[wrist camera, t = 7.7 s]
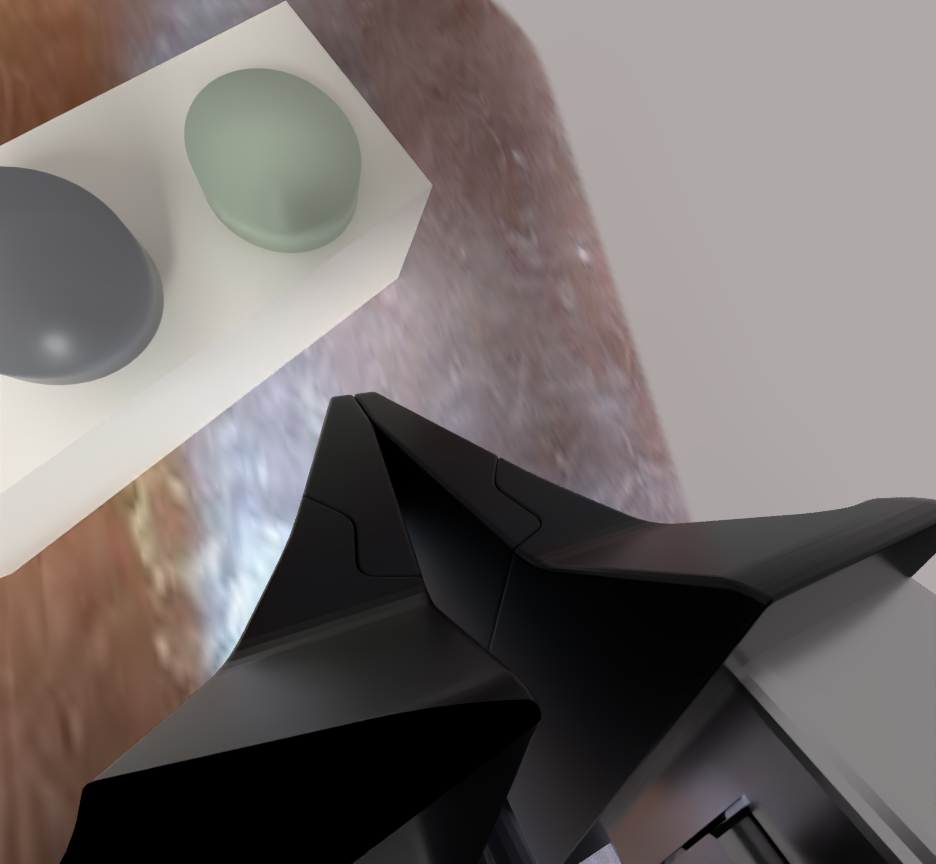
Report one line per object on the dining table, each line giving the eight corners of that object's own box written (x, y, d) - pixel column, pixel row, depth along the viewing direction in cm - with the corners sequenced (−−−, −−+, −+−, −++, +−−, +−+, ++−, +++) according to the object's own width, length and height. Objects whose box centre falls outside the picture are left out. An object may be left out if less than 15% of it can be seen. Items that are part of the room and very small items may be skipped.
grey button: (203, 312, 12) (187, 291, 11) (43, 423, 11) (-1, 416, 9) (73, 171, 11) (36, 129, 10) (-113, 273, 10) (-185, 241, 9)
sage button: (387, 202, 15) (393, 173, 13) (274, 281, 14) (268, 259, 12) (290, 84, 14) (286, 41, 13) (163, 156, 13) (143, 117, 11)
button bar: (398, 278, 23) (432, 185, 15) (11, 573, 18) (-226, 654, 10) (300, 161, 22) (285, 0, 14) (-140, 438, 17) (-530, 415, 9)
